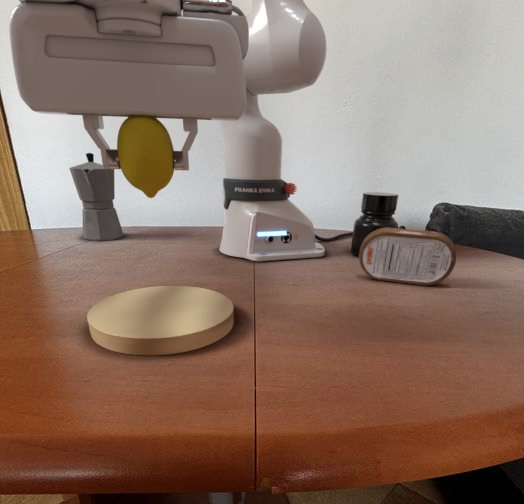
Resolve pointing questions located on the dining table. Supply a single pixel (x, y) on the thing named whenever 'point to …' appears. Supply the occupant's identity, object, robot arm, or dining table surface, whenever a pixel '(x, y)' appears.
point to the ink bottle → (374, 217)
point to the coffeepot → (97, 200)
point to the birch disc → (160, 320)
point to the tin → (407, 256)
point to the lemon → (145, 153)
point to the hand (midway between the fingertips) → (147, 169)
